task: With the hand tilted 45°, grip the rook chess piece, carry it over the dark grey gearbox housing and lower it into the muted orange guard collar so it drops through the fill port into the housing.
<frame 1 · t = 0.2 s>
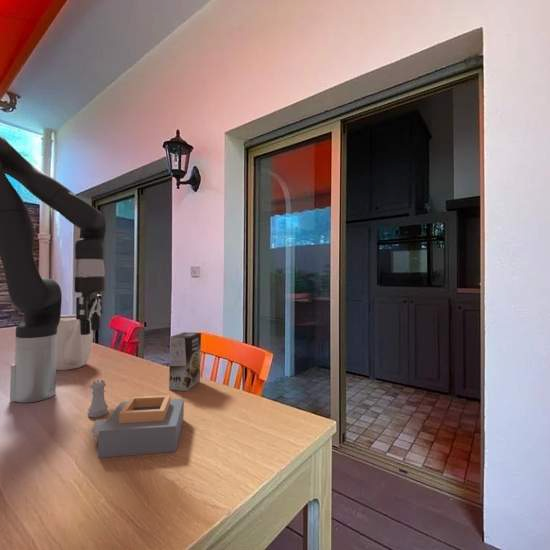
hand: (90, 332, 90), 18 cm above the table, tool pointing down, fingers open, 8 cm apart
coffee box: (185, 386, 98), on the table
gearbox: (145, 436, 67), on the table
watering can: (68, 368, 115), on the table
rook chess piece: (98, 414, 77), on the table
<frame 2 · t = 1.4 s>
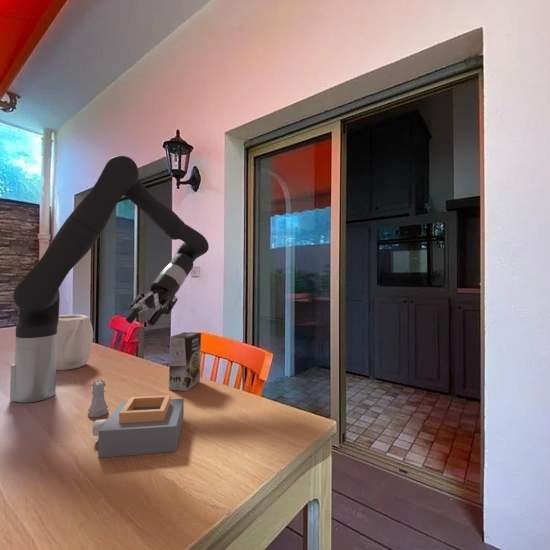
hand: (138, 322, 88), 21 cm above the table, tool tilted 45°, fingers open, 8 cm apart
nothing on the table moved.
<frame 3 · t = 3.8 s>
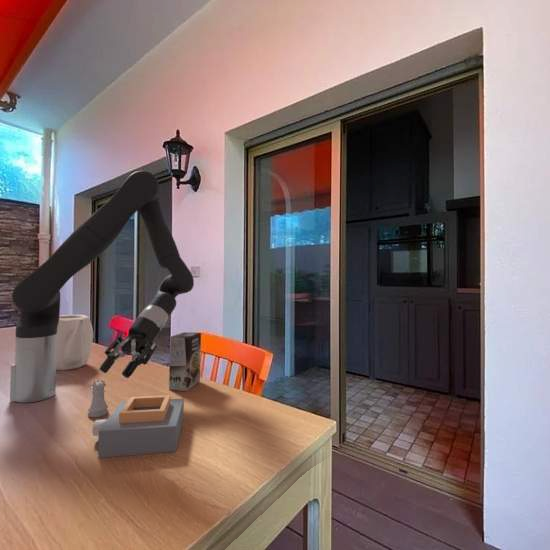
hand: (113, 373, 81), 9 cm above the table, tool tilted 45°, fingers open, 8 cm apart
nothing on the table moved.
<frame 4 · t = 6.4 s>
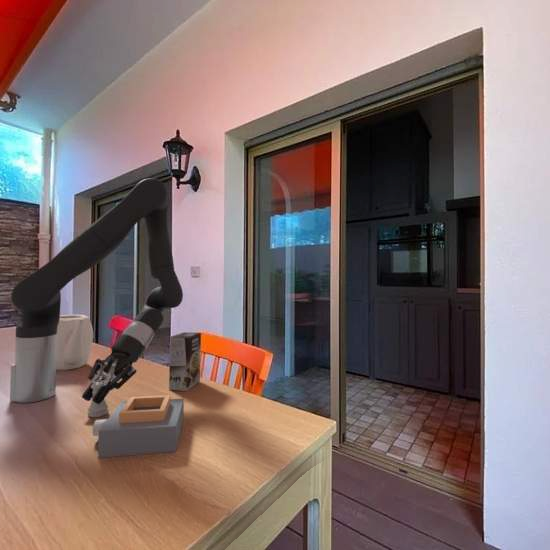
hand: (90, 400, 75), 4 cm above the table, tool tilted 45°, fingers closed on rook chess piece, 3 cm apart
rook chess piece: (97, 414, 77), on the table, touching gripper
everything else where it was.
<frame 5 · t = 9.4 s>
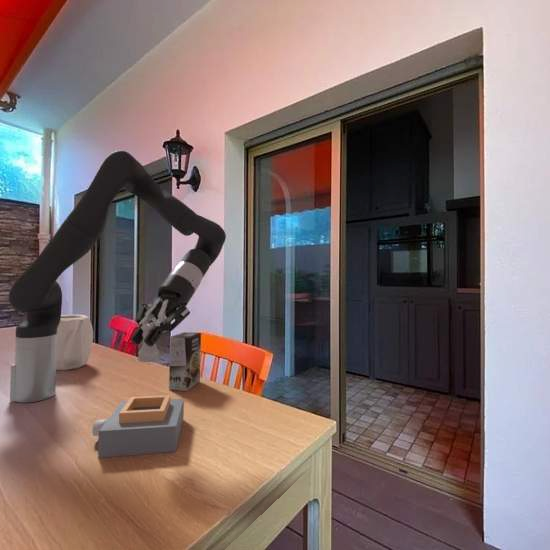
hand: (141, 343, 66), 20 cm above the table, tool tilted 45°, fingers closed on rook chess piece, 3 cm apart
rook chess piece: (148, 360, 68), point 16 cm above the table, touching gripper
everything else where it was.
when the fingers open (10 cm above the table, at t = 12.6 s): rook chess piece drops 6 cm, resting in gearbox.
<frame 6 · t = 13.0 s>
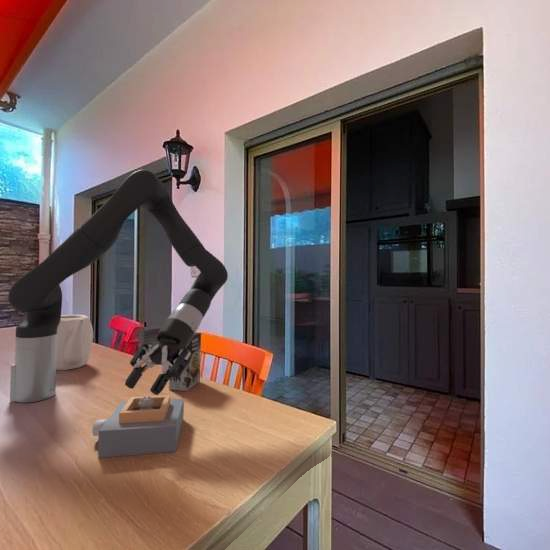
hand: (140, 389, 66), 10 cm above the table, tool tilted 45°, fingers open, 7 cm apart
rook chess piece: (145, 436, 67), resting in gearbox
everything else where it was.
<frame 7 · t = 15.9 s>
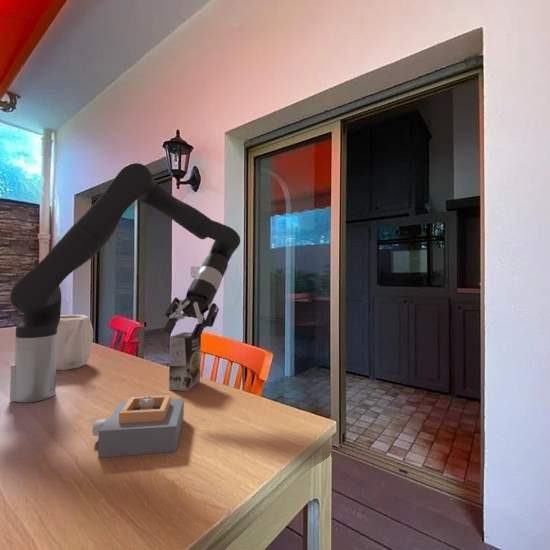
hand: (180, 336, 82), 19 cm above the table, tool tilted 35°, fingers open, 8 cm apart
nothing on the table moved.
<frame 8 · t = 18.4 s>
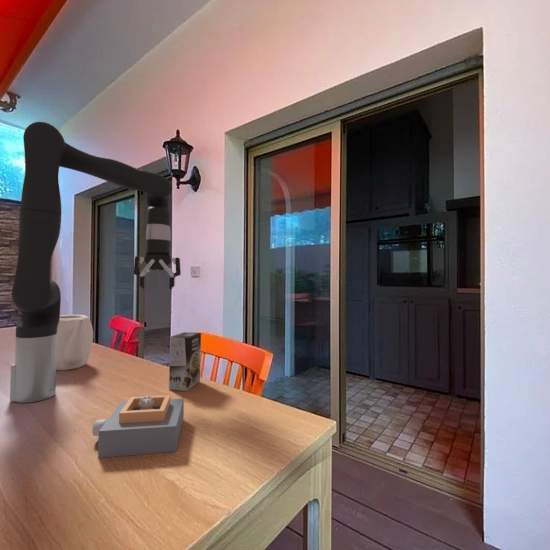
hand: (157, 288, 103), 30 cm above the table, tool pointing down, fingers open, 8 cm apart
nothing on the table moved.
at the end: rook chess piece 0.3 cm off-centre on the gearbox, point 0.0 cm above the gearbox's base; rook chess piece tilted 0°; the gripper is holding nothing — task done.
